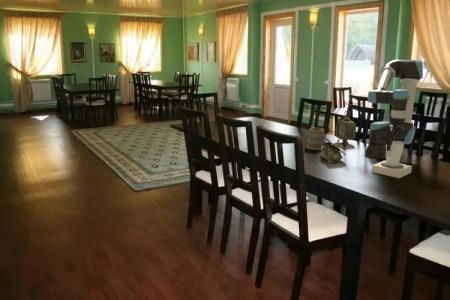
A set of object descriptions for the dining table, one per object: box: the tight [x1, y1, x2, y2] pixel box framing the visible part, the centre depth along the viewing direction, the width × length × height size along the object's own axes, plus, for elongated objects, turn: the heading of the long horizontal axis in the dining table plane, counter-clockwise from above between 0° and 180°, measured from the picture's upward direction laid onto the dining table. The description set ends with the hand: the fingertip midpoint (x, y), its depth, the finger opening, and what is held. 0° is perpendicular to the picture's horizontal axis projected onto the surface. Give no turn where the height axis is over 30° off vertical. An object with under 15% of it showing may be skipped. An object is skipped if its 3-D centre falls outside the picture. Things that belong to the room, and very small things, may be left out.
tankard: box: [305, 124, 326, 151], centre depth 285 cm, size 20×13×15 cm, turn 179°
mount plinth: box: [371, 160, 413, 179], centre depth 225 cm, size 16×16×4 cm
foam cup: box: [385, 141, 405, 166], centre depth 223 cm, size 10×9×13 cm
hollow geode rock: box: [320, 137, 348, 164], centre depth 253 cm, size 28×13×15 cm
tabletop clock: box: [335, 110, 357, 146], centre depth 297 cm, size 14×9×25 cm, turn 14°
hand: (393, 154), depth 224 cm, fingers open, 13 cm apart
